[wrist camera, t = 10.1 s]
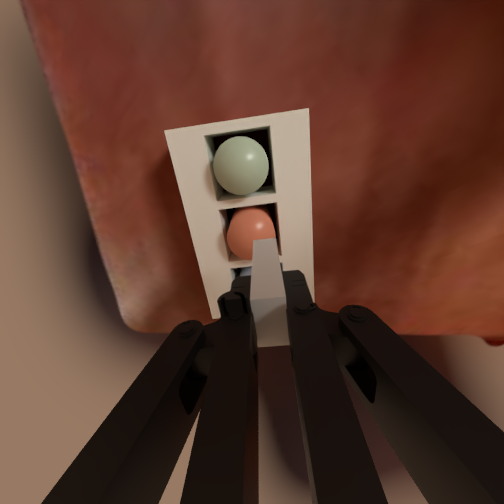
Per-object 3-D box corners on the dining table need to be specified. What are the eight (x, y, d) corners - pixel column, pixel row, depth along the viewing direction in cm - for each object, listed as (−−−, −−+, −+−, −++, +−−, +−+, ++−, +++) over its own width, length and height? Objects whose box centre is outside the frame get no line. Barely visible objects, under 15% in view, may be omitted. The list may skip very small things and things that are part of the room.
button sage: (218, 142, 24) (208, 140, 19) (262, 135, 24) (265, 132, 18) (226, 187, 26) (219, 198, 20) (267, 181, 26) (271, 191, 20)
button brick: (229, 203, 27) (222, 218, 21) (269, 197, 26) (273, 211, 21) (235, 240, 29) (231, 262, 23) (273, 235, 28) (277, 257, 23)
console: (181, 133, 24) (164, 130, 19) (298, 115, 23) (308, 108, 19) (218, 294, 32) (212, 318, 28) (305, 285, 31) (314, 308, 27)
